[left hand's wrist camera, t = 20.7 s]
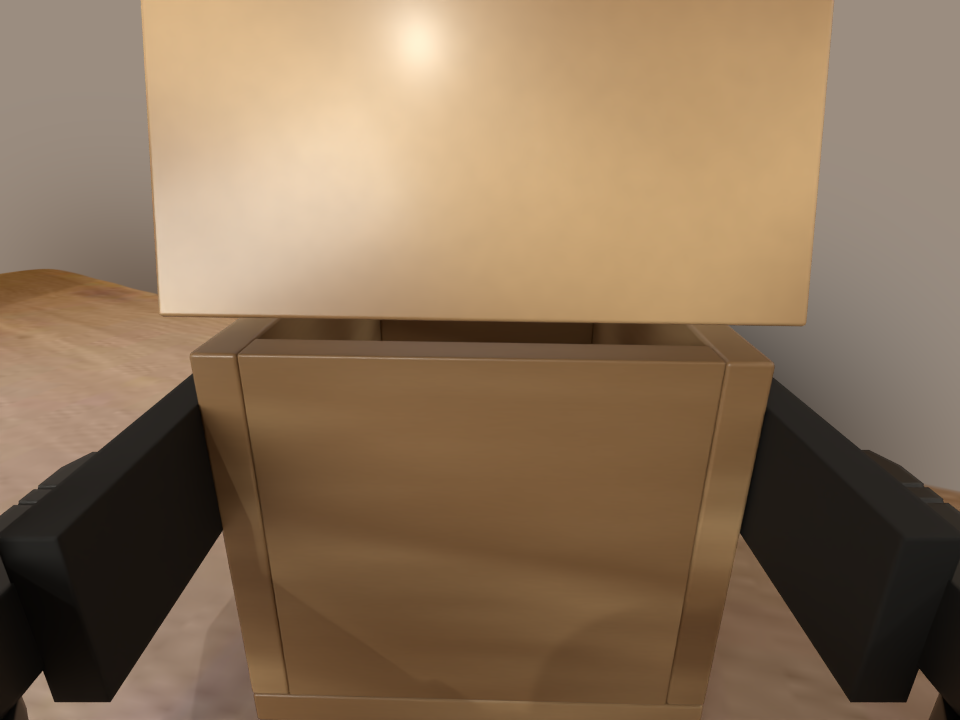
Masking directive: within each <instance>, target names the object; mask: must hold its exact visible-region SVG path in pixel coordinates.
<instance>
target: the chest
mask: <svg viewBox="0 0 960 720" xmlns="http://www.w3.org/2000/svg"><path fill="white" fill-rule="evenodd" d="M190 361H191V367H192V372H193V377H194V383H195V388H196V393H197V398H198V404H199V409H200V414H201V420H202V425H203V430H204V435H205V440H206V445H207V450H208V455H209V460H210V466H211V471H212V476H213V481H214V486H215V491H216V496H217V501H218V506H219V511H220V517H221V522H222V527H223V536H224V542H225V547H226V552H227V557H228V563H229V568H230V573H231V579H232V584H233V589H234V595H235V600H236V605H237V610H238V616H239V621H240V626H241V632H242V637H243V642H244V647H245V653H246V658H247V663H248V669H249V674H250V679H251V685H252V690H253V692H254V699H255V705H256V710H257V715H258V718H259V719H261V720H700V719H701V714H702V709H703V706H702V705H703V704H704V700H705V695H706V690H707V685H708V681H709V676H710V671H711V666H712V662H713V657H714V652H715V647H716V643H717V638H718V633H719V628H720V624H721V619H722V614H723V610H724V605H725V600H726V595H727V591H728V586H729V581H730V576H731V572H732V567H733V562H734V557H735V553H736V548H737V543H738V538H739V534H740V529H741V524H742V519H743V515H744V510H745V505H746V501H747V496H748V491H749V486H750V482H751V477H752V472H753V467H754V463H755V458H756V453H757V448H758V444H759V439H760V434H761V429H762V425H763V420H764V415H765V411H766V406H767V401H768V396H769V392H770V387H771V382H772V377H773V373H774V363H773V362H772V361H771V360H770V359H769V358H767V357H766V356H765V355H764V354H762V353H761V352H760V351H759V350H758V349H756V348H755V347H754V346H753V345H751V344H750V343H749V342H748V341H747V340H745V339H744V338H743V337H742V336H740V335H739V334H738V333H737V332H735V331H734V330H733V329H732V328H731V327H729V326H728V325H687V324H621V323H555V322H489V321H424V320H358V319H292V318H239V319H238V320H236V321H235V322H233V323H232V324H231V325H229V326H228V327H226V328H225V329H224V330H222V331H221V332H219V333H218V334H217V335H215V336H214V337H212V338H211V339H210V340H208V341H207V342H206V343H204V344H203V345H201V346H200V347H199V348H197V349H196V350H194V351H193V352H192V353H191V354H190Z"/></svg>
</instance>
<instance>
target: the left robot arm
mask: <svg viewBox="0 0 960 720" xmlns="http://www.w3.org/2000/svg"><path fill="white" fill-rule="evenodd" d="M222 531H223V527H222V522H221V517H220V511H219V506H218V501H217V496H216V491H215V486H214V481H213V476H212V471H211V466H210V460H209V455H208V450H207V445H206V440H205V435H204V430H203V425H202V420H201V414H200V409H199V404H198V398H197V393H196V388H195V383H194V377H193V374H192V375H190V376H189V377H188V378H187V379H185V380H184V381H183V382H182V383H181V384H179V385H178V386H177V387H176V388H175V389H173V390H172V391H171V392H170V393H168V394H167V395H166V396H165V397H164V398H162V399H161V400H160V401H159V402H158V403H156V404H155V405H154V406H153V407H151V408H150V409H149V410H148V411H147V412H145V413H144V414H143V415H142V416H141V417H139V418H138V419H137V420H136V421H134V422H133V423H132V424H131V425H130V426H128V427H127V428H126V429H125V430H124V431H122V432H121V433H120V434H119V435H117V436H116V437H115V438H114V439H113V440H111V441H110V442H109V443H108V444H107V445H105V446H104V447H103V448H102V449H100V450H99V451H98V452H92V453H90V454H88V455H85V456H83V457H81V458H79V459H77V460H75V461H73V462H71V463H69V464H67V465H65V466H63V467H61V468H60V469H59V470H58V471H56V472H55V473H54V474H52V475H51V476H50V477H49V478H47V479H46V480H45V481H44V482H42V483H41V484H40V485H39V486H38V489H33V490H32V491H31V492H30V493H28V494H27V495H26V496H25V497H23V498H22V499H21V500H20V501H19V504H18V505H13V506H12V507H11V508H9V509H8V510H7V511H6V512H4V513H3V514H2V515H1V516H0V720H28V714H27V708H26V706H25V703H24V701H23V698H22V695H23V694H24V693H25V692H26V690H27V689H28V688H29V687H30V685H31V684H32V683H33V682H34V681H35V679H36V678H37V677H38V676H39V674H40V673H41V672H42V671H43V672H44V675H45V678H46V680H47V683H48V686H49V688H50V691H51V694H52V696H53V699H54V702H111V700H112V699H113V697H114V696H115V694H116V693H117V691H118V690H119V688H120V687H121V685H122V684H123V682H124V680H125V679H126V677H127V676H128V674H129V673H130V671H131V670H132V668H133V667H134V665H135V664H136V662H137V661H138V659H139V658H140V656H141V654H142V653H143V651H144V650H145V648H146V647H147V645H148V644H149V642H150V641H151V639H152V638H153V636H154V635H155V633H156V632H157V630H158V628H159V627H160V625H161V624H162V622H163V621H164V619H165V618H166V616H167V615H168V613H169V612H170V610H171V609H172V607H173V606H174V604H175V602H176V601H177V599H178V598H179V596H180V595H181V593H182V592H183V590H184V589H185V587H186V586H187V584H188V583H189V581H190V580H191V578H192V576H193V575H194V573H195V572H196V570H197V569H198V567H199V566H200V564H201V563H202V561H203V560H204V558H205V557H206V555H207V553H208V552H209V550H210V549H211V547H212V546H213V544H214V543H215V541H216V540H217V538H218V537H219V535H220V534H221V532H222ZM740 534H741V535H742V537H743V538H744V540H745V541H746V543H747V545H748V546H749V548H750V549H751V551H752V552H753V554H754V555H755V557H756V558H757V560H758V561H759V563H760V564H761V566H762V567H763V569H764V571H765V572H766V574H767V575H768V577H769V578H770V580H771V581H772V583H773V584H774V586H775V587H776V589H777V590H778V592H779V593H780V595H781V597H782V598H783V600H784V601H785V603H786V604H787V606H788V607H789V609H790V610H791V612H792V613H793V615H794V616H795V618H796V619H797V621H798V623H799V624H800V626H801V627H802V629H803V630H804V632H805V633H806V635H807V636H808V638H809V639H810V641H811V642H812V644H813V645H814V647H815V649H816V650H817V652H818V653H819V655H820V656H821V658H822V659H823V661H824V662H825V664H826V665H827V667H828V668H829V670H830V671H831V673H832V675H833V676H834V678H835V679H836V681H837V682H838V684H839V685H840V687H841V688H842V690H843V691H844V693H845V694H846V696H847V697H848V699H849V701H850V702H907V699H908V696H909V694H910V691H911V688H912V686H913V683H914V680H915V678H916V675H917V672H918V670H919V669H920V670H921V671H922V672H923V674H924V675H925V676H926V677H927V679H928V680H929V681H930V682H931V683H932V685H933V686H934V687H935V688H936V689H937V691H938V692H939V695H938V698H937V701H936V703H935V706H934V708H933V711H932V713H931V716H930V718H929V720H960V512H959V511H958V510H957V509H955V508H954V507H953V506H951V505H950V504H949V503H944V502H943V499H942V498H941V497H940V496H939V495H937V494H936V493H935V492H934V491H932V490H931V489H930V488H928V487H924V484H923V483H922V482H921V481H919V480H918V479H917V478H916V477H914V476H913V475H912V474H911V473H909V472H908V471H907V470H905V469H904V468H903V467H902V466H900V465H898V464H896V463H894V462H892V461H890V460H888V459H886V458H884V457H882V456H880V455H878V454H876V453H874V452H872V451H870V450H860V449H859V448H858V447H857V446H856V445H854V444H853V443H852V442H851V441H850V440H848V439H847V438H846V437H845V436H843V435H842V434H841V433H840V432H839V431H837V430H836V429H835V428H834V427H833V426H831V425H830V424H829V423H828V422H826V421H825V420H824V419H823V418H822V417H820V416H819V415H818V414H817V413H816V412H814V411H813V410H812V409H811V408H809V407H808V406H807V405H806V404H805V403H803V402H802V401H801V400H800V399H799V398H797V397H796V396H795V395H794V394H792V393H791V392H790V391H789V390H788V389H786V388H785V387H784V386H783V385H781V384H780V383H779V382H778V381H777V380H775V379H774V378H773V377H772V382H771V387H770V392H769V396H768V401H767V406H766V411H765V415H764V420H763V425H762V429H761V434H760V439H759V444H758V448H757V453H756V458H755V463H754V467H753V472H752V477H751V482H750V486H749V491H748V496H747V501H746V505H745V510H744V515H743V519H742V524H741V529H740Z"/></svg>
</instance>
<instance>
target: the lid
mask: <svg viewBox="0 0 960 720" xmlns="http://www.w3.org/2000/svg"><path fill="white" fill-rule="evenodd" d="M833 8H834V0H141V12H142V30H143V47H144V64H145V82H146V99H147V116H148V133H149V150H150V168H151V185H152V203H153V220H154V237H155V255H156V272H157V289H158V307H159V314H160V315H161V316H163V317H226V318H292V319H358V320H424V321H489V322H555V323H621V324H687V325H753V326H804V325H805V324H806V319H807V308H808V296H809V285H810V273H811V262H812V250H813V239H814V227H815V216H816V204H817V193H818V181H819V170H820V158H821V147H822V135H823V123H824V112H825V100H826V89H827V77H828V66H829V54H830V43H831V31H832V20H833Z"/></svg>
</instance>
